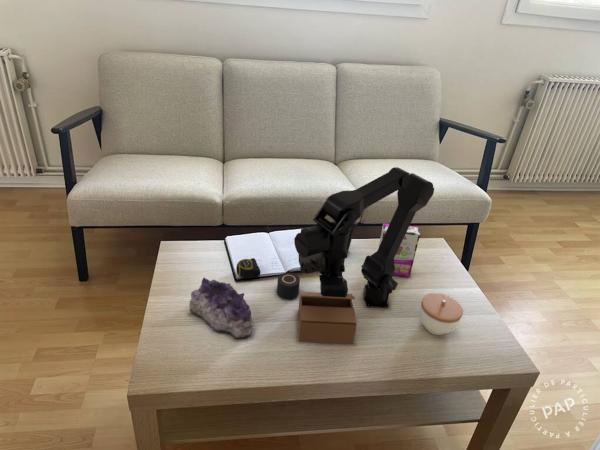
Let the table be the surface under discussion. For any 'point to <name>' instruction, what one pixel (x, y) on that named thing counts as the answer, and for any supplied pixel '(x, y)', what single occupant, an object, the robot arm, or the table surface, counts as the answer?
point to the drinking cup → (350, 237)
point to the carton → (326, 320)
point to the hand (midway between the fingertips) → (327, 295)
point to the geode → (222, 308)
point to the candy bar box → (404, 251)
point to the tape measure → (248, 268)
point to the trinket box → (440, 313)
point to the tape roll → (288, 286)
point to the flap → (318, 295)
